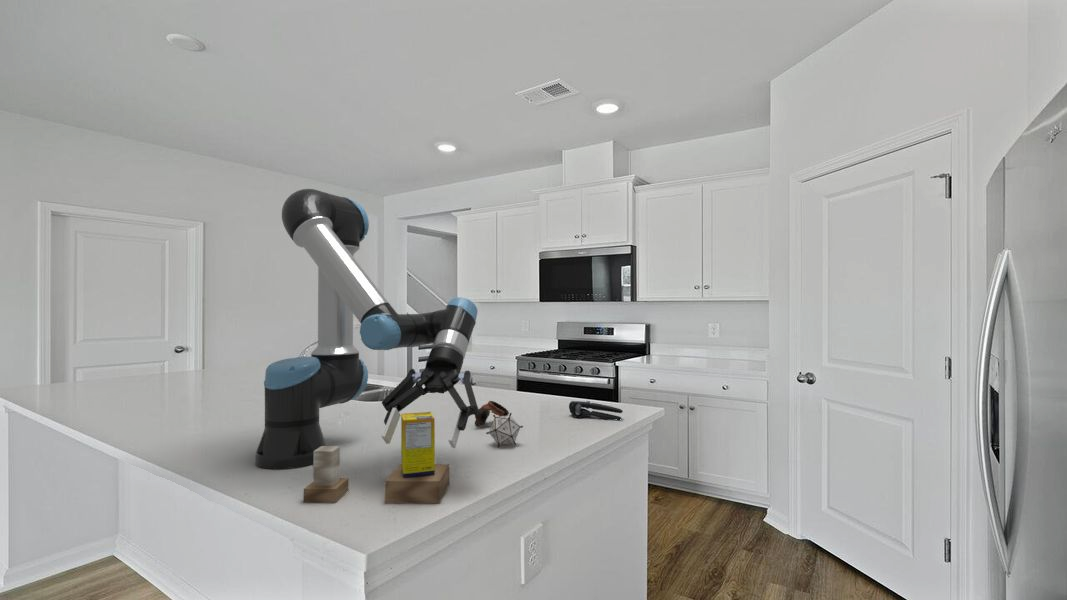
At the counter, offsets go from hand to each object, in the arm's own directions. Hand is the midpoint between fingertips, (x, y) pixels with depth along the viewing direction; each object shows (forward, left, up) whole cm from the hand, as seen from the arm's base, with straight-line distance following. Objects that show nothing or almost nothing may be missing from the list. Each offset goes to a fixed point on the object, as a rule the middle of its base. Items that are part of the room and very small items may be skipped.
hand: (418, 442), depth 97 cm
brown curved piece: (+8, +56, -10) cm, 58 cm away
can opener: (+41, +67, -10) cm, 79 cm away
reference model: (-17, -1, -10) cm, 20 cm away
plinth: (0, +1, -10) cm, 10 cm away
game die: (+14, +35, -10) cm, 39 cm away
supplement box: (0, +1, -6) cm, 6 cm away
